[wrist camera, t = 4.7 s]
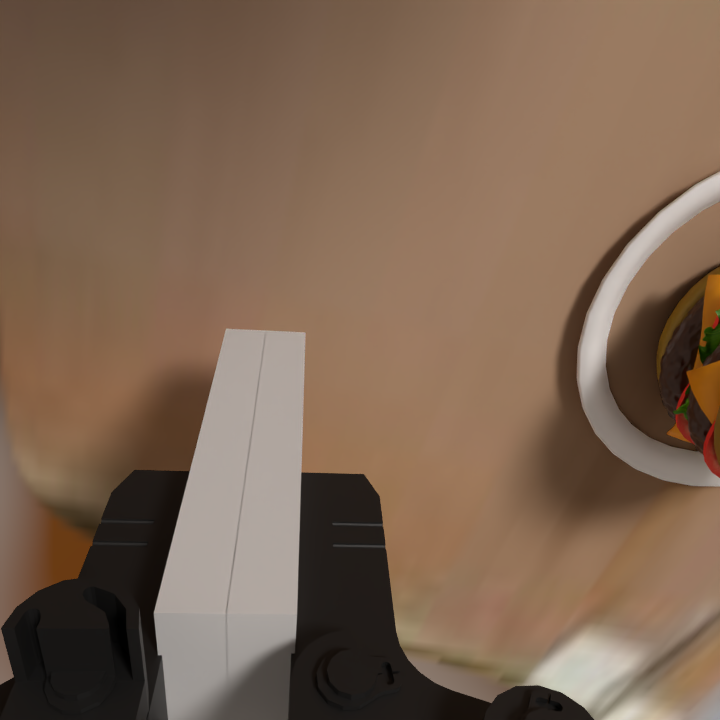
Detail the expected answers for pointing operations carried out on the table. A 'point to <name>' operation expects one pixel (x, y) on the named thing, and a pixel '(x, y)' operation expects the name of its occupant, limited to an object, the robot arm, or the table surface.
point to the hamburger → (662, 358)
